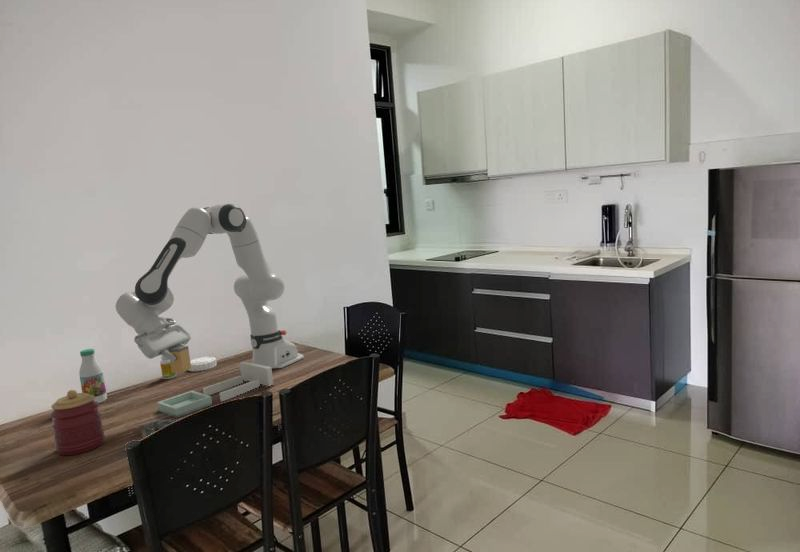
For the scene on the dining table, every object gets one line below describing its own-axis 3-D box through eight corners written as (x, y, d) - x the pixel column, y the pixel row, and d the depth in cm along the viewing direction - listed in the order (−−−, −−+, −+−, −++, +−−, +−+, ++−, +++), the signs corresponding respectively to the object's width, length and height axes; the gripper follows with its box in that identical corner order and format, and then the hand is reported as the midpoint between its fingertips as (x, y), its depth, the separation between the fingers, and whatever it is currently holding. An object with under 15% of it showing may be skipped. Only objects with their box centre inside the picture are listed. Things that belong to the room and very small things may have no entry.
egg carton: (138, 439, 172) (136, 426, 172) (153, 429, 179) (151, 416, 179) (169, 438, 170) (167, 426, 169) (183, 428, 177) (181, 416, 177)
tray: (193, 398, 205) (191, 390, 205) (212, 404, 196) (211, 396, 196) (158, 410, 195) (157, 402, 195) (176, 417, 187) (175, 409, 186)
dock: (246, 378, 223) (243, 361, 222) (273, 385, 212) (271, 367, 211) (199, 394, 209) (197, 376, 208) (226, 402, 197) (223, 383, 196)
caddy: (180, 368, 197) (177, 346, 196) (191, 368, 196) (188, 345, 195) (171, 372, 193) (168, 349, 192) (182, 372, 192) (179, 349, 191)
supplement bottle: (171, 379, 233) (167, 356, 232) (159, 379, 234) (156, 356, 233) (179, 375, 238) (175, 352, 237) (167, 375, 239) (164, 353, 238)
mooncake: (183, 373, 242) (182, 364, 241) (194, 364, 253) (192, 357, 253) (211, 370, 241) (210, 362, 241) (220, 362, 253) (219, 354, 253)
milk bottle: (81, 403, 213) (72, 351, 210) (103, 396, 218) (94, 346, 215) (88, 406, 207) (79, 354, 205) (110, 400, 213) (101, 348, 210)
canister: (53, 460, 162) (42, 401, 159) (60, 444, 174) (49, 389, 171) (103, 448, 167) (93, 391, 164) (107, 433, 179) (97, 380, 176)
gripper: (136, 330, 185) (165, 359, 183) (176, 317, 204) (203, 343, 202) (126, 344, 186) (155, 373, 185) (168, 329, 206) (194, 355, 204)
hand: (181, 357), depth 194 cm, fingers closed on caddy, 4 cm apart
